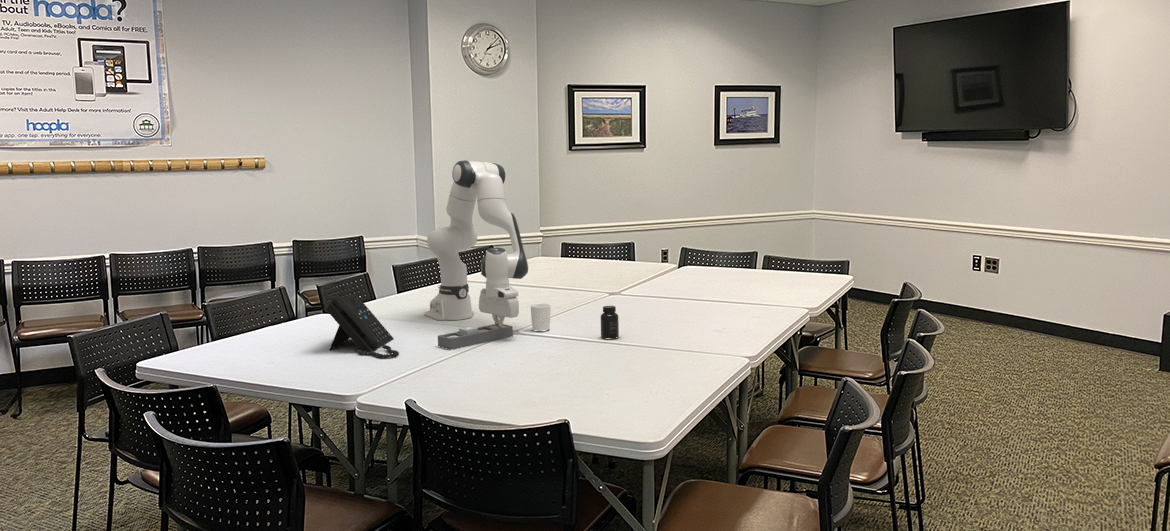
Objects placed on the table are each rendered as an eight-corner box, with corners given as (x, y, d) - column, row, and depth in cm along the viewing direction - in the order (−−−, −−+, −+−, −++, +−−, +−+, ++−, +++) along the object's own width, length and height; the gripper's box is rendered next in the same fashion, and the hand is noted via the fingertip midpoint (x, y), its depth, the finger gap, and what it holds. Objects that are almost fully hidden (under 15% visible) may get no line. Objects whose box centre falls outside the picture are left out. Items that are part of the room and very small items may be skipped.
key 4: (488, 333, 323) (488, 326, 322) (499, 331, 326) (498, 324, 326) (497, 335, 319) (496, 328, 319) (507, 332, 323) (507, 326, 322)
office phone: (393, 359, 291) (391, 302, 288) (316, 357, 295) (313, 301, 292) (422, 340, 319) (420, 287, 316) (351, 338, 323) (348, 287, 320)
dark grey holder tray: (438, 346, 308) (437, 335, 308) (499, 333, 328) (499, 323, 328) (450, 349, 303) (450, 339, 302) (512, 336, 323) (512, 326, 322)
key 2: (459, 335, 313) (458, 328, 312) (469, 332, 316) (469, 325, 316) (467, 337, 309) (466, 330, 309) (478, 334, 313) (477, 327, 312)
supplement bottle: (619, 335, 322) (619, 304, 320) (618, 339, 315) (618, 308, 313) (601, 335, 322) (601, 304, 321) (600, 339, 316) (599, 308, 314)
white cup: (550, 332, 329) (549, 307, 327) (530, 332, 329) (529, 307, 328) (551, 327, 337) (551, 303, 335) (531, 328, 337) (531, 303, 335)
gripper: (474, 288, 325) (475, 323, 327) (508, 294, 311) (509, 331, 313) (487, 286, 330) (488, 321, 332) (521, 292, 315) (522, 328, 317)
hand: (498, 326), depth 322 cm, fingers closed
